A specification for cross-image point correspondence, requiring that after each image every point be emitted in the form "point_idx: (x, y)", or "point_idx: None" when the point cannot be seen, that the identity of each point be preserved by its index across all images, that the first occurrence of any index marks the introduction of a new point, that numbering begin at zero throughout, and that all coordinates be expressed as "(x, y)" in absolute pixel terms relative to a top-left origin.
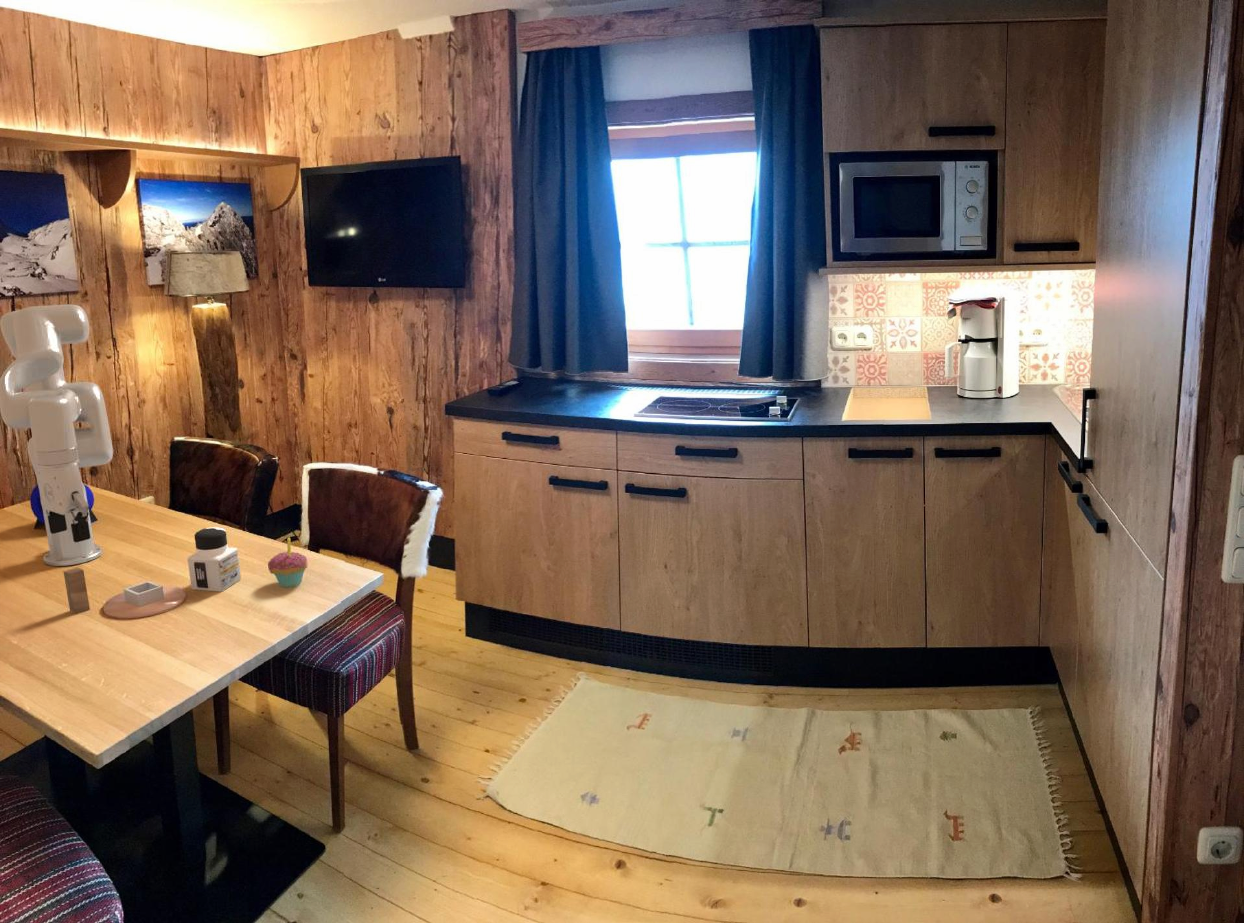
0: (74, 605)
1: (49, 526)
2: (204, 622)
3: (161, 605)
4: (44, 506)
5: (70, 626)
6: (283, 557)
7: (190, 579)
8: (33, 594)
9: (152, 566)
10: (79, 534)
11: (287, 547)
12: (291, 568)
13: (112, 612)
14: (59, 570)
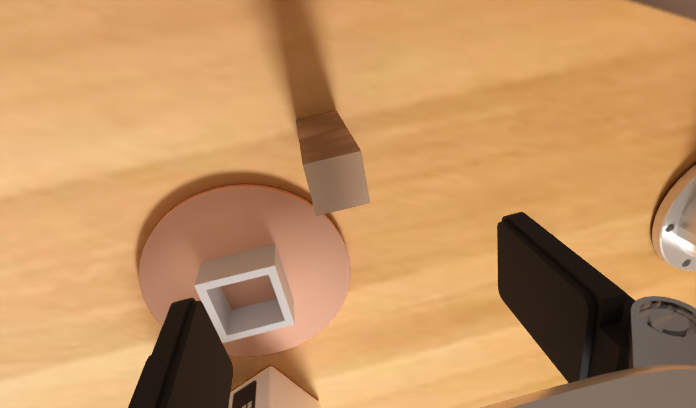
0: (301, 125)
1: (549, 235)
2: (13, 353)
3: None
4: (654, 406)
5: (196, 79)
6: None
7: (268, 387)
8: (557, 57)
9: (489, 327)
10: (144, 371)
11: None
12: None
13: (204, 200)
14: (664, 160)
